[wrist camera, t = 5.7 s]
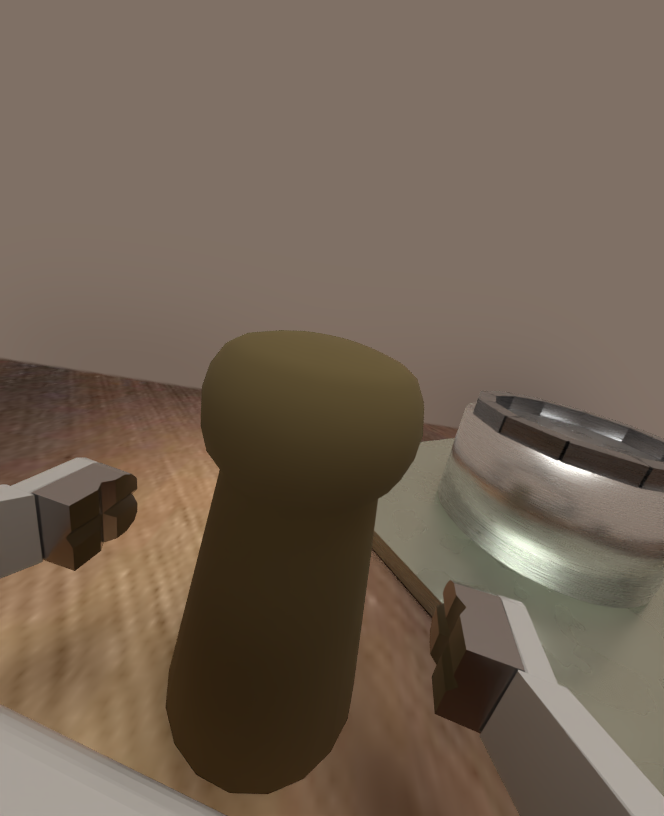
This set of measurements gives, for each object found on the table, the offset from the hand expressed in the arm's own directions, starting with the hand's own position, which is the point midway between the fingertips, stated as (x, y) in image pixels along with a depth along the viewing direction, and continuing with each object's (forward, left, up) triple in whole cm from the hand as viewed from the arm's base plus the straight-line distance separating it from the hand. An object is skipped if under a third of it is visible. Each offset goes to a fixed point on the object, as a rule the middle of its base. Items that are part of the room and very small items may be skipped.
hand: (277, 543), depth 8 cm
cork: (-1, +1, -6) cm, 6 cm away
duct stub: (-1, +19, -6) cm, 20 cm away
